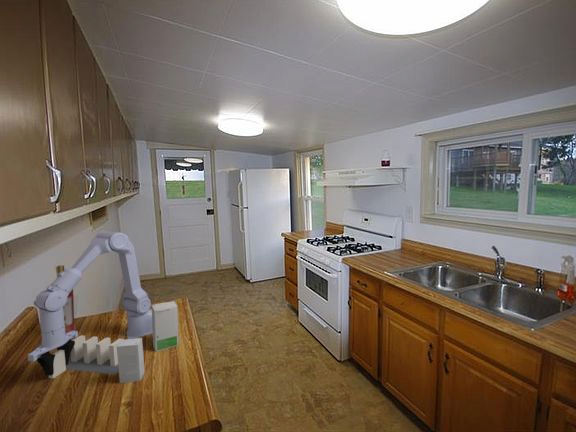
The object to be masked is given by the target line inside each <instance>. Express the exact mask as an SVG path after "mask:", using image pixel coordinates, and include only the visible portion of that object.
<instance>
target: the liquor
mask: <svg viewBox="0 0 576 432" xmlns="http://www.w3.org/2000/svg"><path fill="white" fill-rule="evenodd" d="M64 270H65V265H56V266H55V272H56V278H57V277H58V276H59V275H58V274H59V273H60V272H61V271H62V272H63V271H64ZM74 298H75V297H74V289H73V290H72V291H71V292H70V293H69V294H68V296H67V302H66V304H65V305H64V306H63V313H64V323H65V334H66V333H68V332H70V331H72V330H73V331H76V330H77V327H76V326H75V311H74V310H75V307H74V300H75V299H74Z"/></svg>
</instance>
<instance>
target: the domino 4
mask: <svg viewBox="0 0 576 432" xmlns="http://www.w3.org/2000/svg"><path fill="white" fill-rule="evenodd" d="M111 344H112V341H111V338H110V337H105V338H103V339H101V340H100V341H98V343H97V344H96V354H97V364H99V365H102V364H103V363H105V362H106V361H107V360H109V359H110V351H109V345H111Z"/></svg>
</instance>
